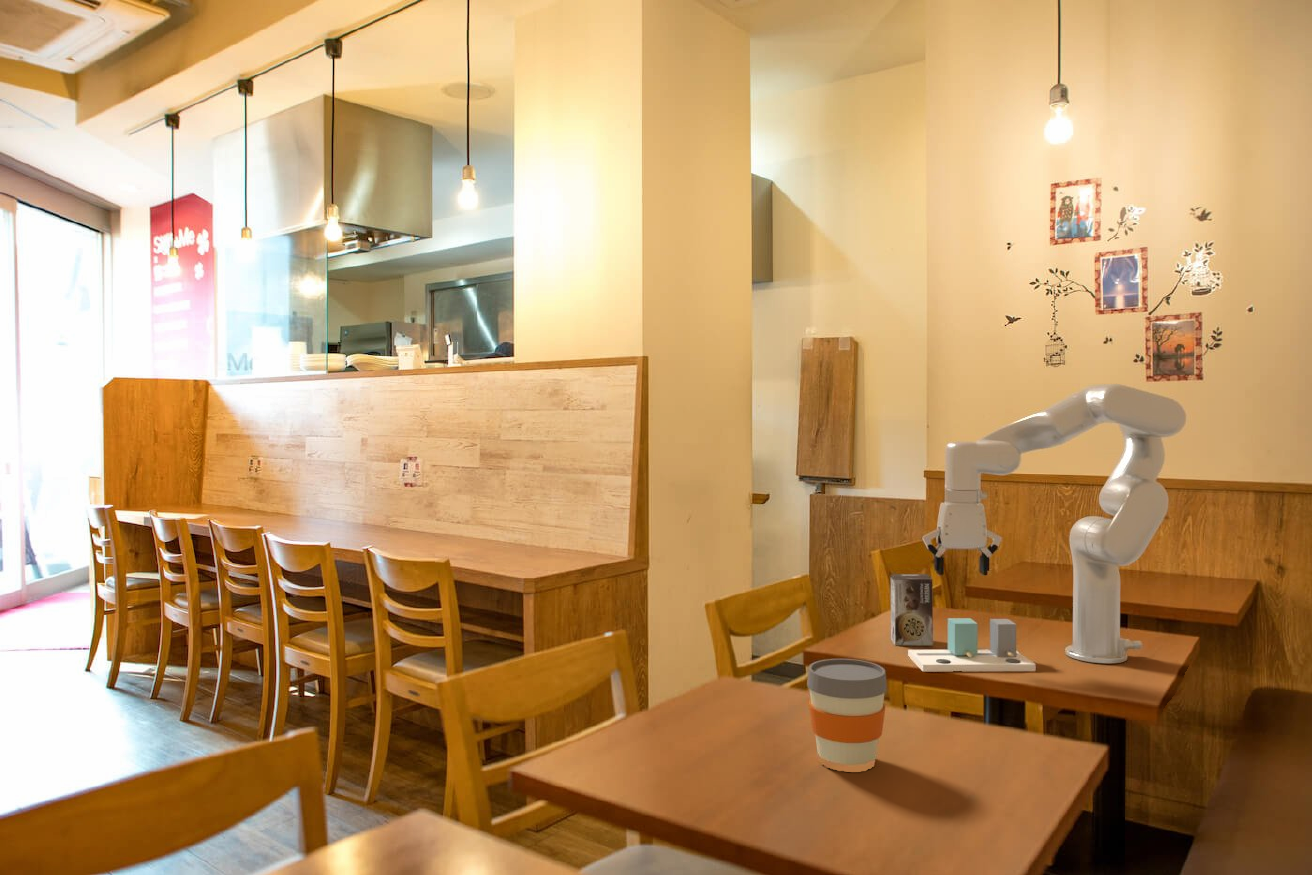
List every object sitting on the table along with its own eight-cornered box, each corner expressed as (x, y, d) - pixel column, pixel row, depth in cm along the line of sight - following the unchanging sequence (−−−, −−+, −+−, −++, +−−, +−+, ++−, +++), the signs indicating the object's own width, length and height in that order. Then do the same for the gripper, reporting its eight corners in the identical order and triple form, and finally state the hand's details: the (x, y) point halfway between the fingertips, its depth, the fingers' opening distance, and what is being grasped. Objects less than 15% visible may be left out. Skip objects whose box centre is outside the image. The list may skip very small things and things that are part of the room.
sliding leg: (969, 648, 204) (970, 618, 204) (981, 658, 196) (981, 626, 196) (947, 649, 204) (947, 618, 204) (958, 658, 196) (958, 626, 196)
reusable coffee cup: (792, 753, 149) (792, 662, 148) (858, 742, 153) (858, 654, 153) (833, 782, 137) (833, 684, 136) (903, 770, 141) (903, 675, 141)
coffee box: (928, 639, 220) (928, 573, 220) (933, 646, 214) (933, 578, 213) (890, 638, 221) (890, 573, 221) (894, 645, 215) (894, 578, 214)
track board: (1014, 655, 205) (1014, 617, 205) (1035, 671, 193) (1035, 630, 193) (908, 656, 206) (908, 617, 205) (922, 671, 194) (923, 630, 193)
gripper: (995, 495, 204) (994, 571, 205) (918, 495, 204) (917, 571, 205) (1008, 499, 196) (1007, 577, 197) (928, 499, 197) (927, 577, 197)
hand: (961, 574), depth 201 cm, fingers open, 9 cm apart
